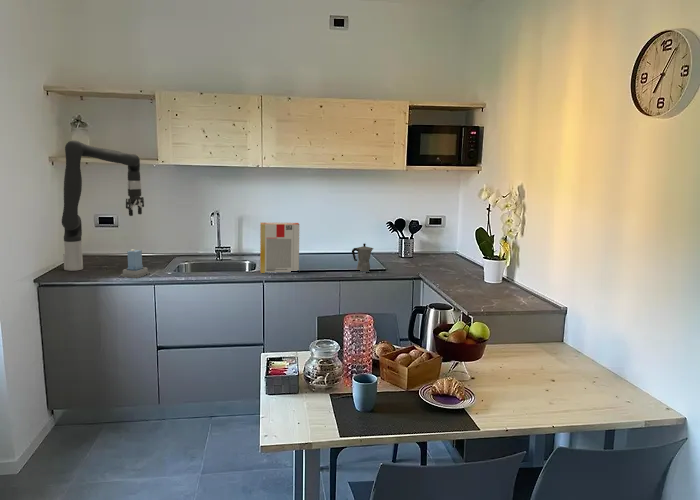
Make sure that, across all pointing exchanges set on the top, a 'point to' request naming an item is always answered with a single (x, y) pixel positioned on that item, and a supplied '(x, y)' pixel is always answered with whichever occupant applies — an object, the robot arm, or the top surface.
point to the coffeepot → (363, 257)
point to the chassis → (135, 273)
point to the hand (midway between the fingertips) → (135, 215)
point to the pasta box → (279, 247)
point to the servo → (134, 260)
